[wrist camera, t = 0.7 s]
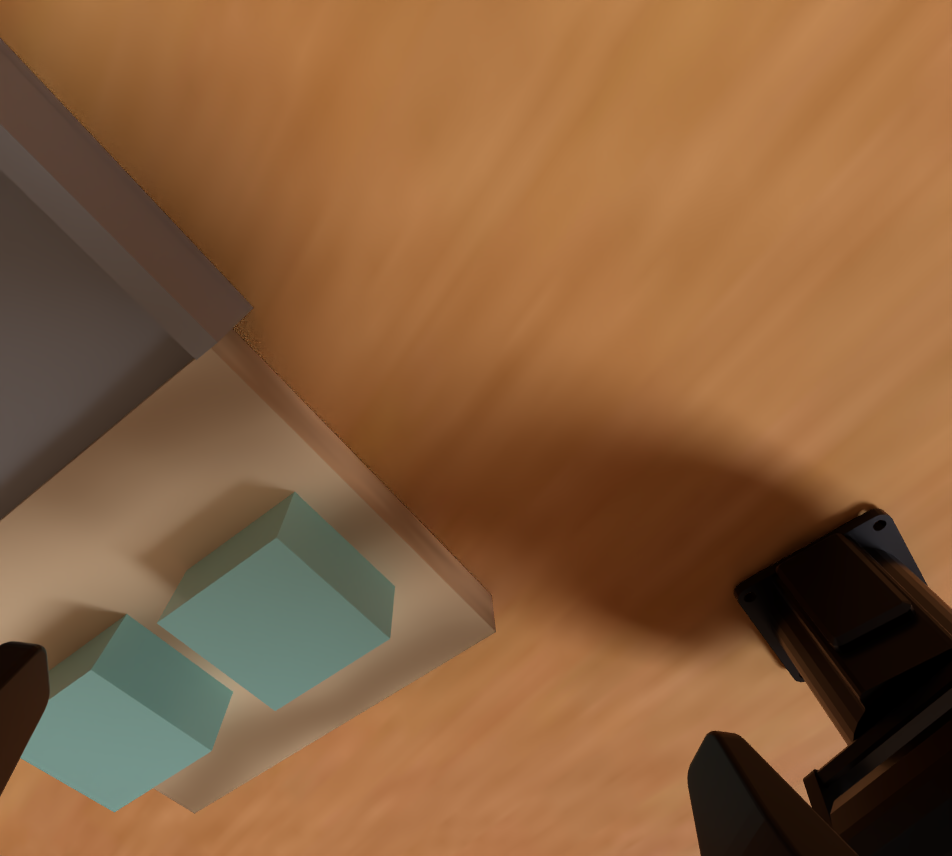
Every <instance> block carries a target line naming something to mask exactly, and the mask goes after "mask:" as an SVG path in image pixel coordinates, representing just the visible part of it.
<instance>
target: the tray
mask: <svg viewBox="0 0 952 856" xmlns="http://www.w3.org/2000/svg"><path fill="white" fill-rule="evenodd" d="M252 309H253V307H252V306H251V305H250V303H249V302H248V301H247V300H246V299H245V298H244V297H243V296H242V295H241V294H240V293H239V292H238V291H237V290H236V289H235V288H234V286H233V285H232V284H231V283H230V282H229V281H228V280H227V279H226V278H225V277H224V276H223V275H222V274H221V273H220V272H219V270H218V269H217V268H216V267H215V266H214V265H213V264H212V263H211V262H210V261H209V260H208V259H207V258H206V257H205V256H204V254H203V253H202V252H201V251H200V250H199V249H198V248H197V247H196V246H195V245H194V244H193V243H192V242H191V241H190V240H189V239H188V237H187V236H186V235H185V234H184V233H183V232H182V231H181V230H180V229H179V228H178V227H177V226H176V225H175V224H174V223H173V221H172V220H171V219H170V218H169V217H168V216H167V215H166V214H165V213H164V212H163V211H162V210H161V209H160V208H159V207H158V206H157V204H156V203H155V202H154V201H153V200H152V199H151V198H150V197H149V196H148V195H147V194H146V193H145V192H144V191H143V190H142V188H141V187H140V186H139V185H138V184H137V183H136V182H135V181H134V180H133V179H132V178H131V177H130V176H129V175H128V174H127V173H126V171H125V170H124V169H123V168H122V167H121V166H120V165H119V164H118V163H117V162H116V161H115V160H114V159H113V158H112V157H111V155H110V154H109V153H108V152H107V151H106V150H105V149H104V148H103V147H102V146H101V145H100V144H99V143H98V142H97V141H96V139H95V138H94V137H93V136H92V135H91V134H90V133H89V132H88V131H87V130H86V129H85V128H84V127H83V126H82V125H81V124H80V122H79V121H78V120H77V119H76V118H75V117H74V116H73V115H72V114H71V113H70V112H69V111H68V110H67V109H66V108H65V106H64V105H63V104H62V103H61V102H60V101H59V100H58V99H57V98H56V97H55V96H54V95H53V94H52V93H51V92H50V91H49V89H48V88H47V87H46V86H45V85H44V84H43V83H42V82H41V81H40V80H39V79H38V78H37V77H36V76H35V75H34V73H33V72H32V71H31V70H30V69H29V68H28V67H27V66H26V65H25V64H24V63H23V62H22V61H21V60H20V59H19V58H18V56H17V55H16V54H15V53H14V52H13V51H12V50H11V49H10V48H9V47H8V46H7V45H6V44H5V43H4V42H3V40H2V39H1V38H0V519H2V518H3V517H4V516H5V515H6V514H8V513H9V512H10V511H11V510H12V509H14V508H15V507H16V506H17V505H18V504H20V503H21V502H22V501H23V500H24V499H26V498H27V497H28V496H29V495H30V494H32V493H33V492H34V491H35V490H36V489H38V488H39V487H40V486H41V485H42V484H44V483H45V482H46V481H47V480H48V479H50V478H51V477H52V476H53V475H54V474H56V473H57V472H58V471H59V470H60V469H62V468H63V467H64V466H65V465H66V464H68V463H69V462H70V461H71V460H72V459H74V458H75V457H76V456H77V455H78V454H80V453H81V452H82V451H83V450H84V449H86V448H87V447H88V446H89V445H90V444H92V443H93V442H94V441H95V440H96V439H98V438H99V437H100V436H101V435H102V434H104V433H105V432H106V431H107V430H108V429H110V428H111V427H112V426H113V425H114V424H116V423H117V422H118V421H119V420H120V419H122V418H123V417H124V416H125V415H126V414H128V413H129V412H130V411H131V410H132V409H134V408H135V407H136V406H137V405H138V404H140V403H141V402H142V401H143V400H144V399H146V398H147V397H148V396H149V395H150V394H152V393H153V392H154V391H155V390H156V389H158V388H159V387H160V386H161V385H162V384H164V383H165V382H166V381H167V380H168V379H170V378H171V377H172V376H173V375H174V374H176V373H177V372H178V371H179V370H180V369H182V368H183V367H184V366H185V365H186V364H188V363H189V362H190V361H191V360H192V359H195V360H197V359H199V358H200V357H201V356H202V355H203V354H205V353H206V352H207V351H208V350H209V349H211V348H212V347H213V346H214V345H215V344H217V343H218V342H219V341H220V340H221V339H222V338H223V337H224V336H225V335H226V334H227V333H228V332H229V331H230V330H231V329H232V328H233V327H234V326H235V325H236V324H237V323H238V322H239V321H240V320H242V319H243V318H244V317H245V316H246V315H247V314H248V313H249V312H250V311H251V310H252Z"/></svg>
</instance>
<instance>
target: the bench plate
mask: <svg viewBox="0 0 952 856" xmlns="http://www.w3.org/2000/svg"><path fill="white" fill-rule="evenodd" d="M294 492H296V493H297V494H298V495H299V496H300V497H301V498H302V499H303V500H304V501H305V502H306V503H307V504H308V505H309V506H311V507H312V508H313V509H314V510H315V511H316V512H317V513H318V514H319V515H320V516H321V517H322V518H323V519H324V520H325V521H326V522H327V523H329V524H330V525H331V526H332V527H333V528H334V529H335V530H336V531H337V532H338V533H339V534H340V535H341V536H342V537H343V538H344V539H345V540H347V541H348V542H349V543H350V544H351V545H352V546H353V547H354V548H355V549H356V550H357V551H358V552H359V553H360V554H361V555H362V556H363V557H365V558H366V559H367V560H368V561H369V562H370V563H371V564H372V565H373V566H374V567H375V568H376V569H377V570H378V571H379V572H380V573H381V574H383V575H384V576H385V577H386V578H387V579H388V580H389V581H390V582H391V583H392V584H393V585H394V586H395V593H394V604H393V615H392V626H391V636H390V639H389V640H388V641H386V642H384V643H383V644H381V645H380V646H378V647H376V648H375V649H373V650H372V651H370V652H368V653H367V654H365V655H364V656H362V657H361V658H359V659H357V660H356V661H354V662H353V663H351V664H349V665H348V666H346V667H345V668H343V669H341V670H340V671H338V672H337V673H335V674H333V675H332V676H330V677H329V678H327V679H326V680H324V681H322V682H321V683H319V684H318V685H316V686H314V687H313V688H311V689H310V690H308V691H306V692H305V693H303V694H302V695H300V696H299V697H297V698H295V699H294V700H292V701H291V702H289V703H287V704H286V705H284V706H283V707H281V708H279V709H278V710H276V711H274V710H273V709H271V708H270V707H269V706H267V705H266V704H265V703H263V702H262V701H261V700H259V699H258V698H257V697H255V696H254V695H253V694H251V693H250V692H249V691H247V690H246V689H245V688H243V687H242V686H241V685H239V684H238V683H236V682H235V681H234V680H232V679H231V678H230V677H228V676H227V675H226V674H224V673H223V672H222V671H220V670H219V669H218V668H216V667H215V666H214V665H212V664H211V663H210V662H208V661H207V660H206V659H204V658H203V657H201V656H200V655H199V654H197V653H196V652H195V651H193V650H192V649H191V648H189V647H188V646H187V645H185V644H184V643H183V642H181V641H180V640H179V639H177V638H176V637H175V636H173V635H172V634H171V633H169V632H168V631H167V630H165V629H164V628H162V627H161V626H160V625H158V624H157V622H158V620H159V618H160V616H161V615H162V613H163V611H164V609H165V607H166V606H167V604H168V602H169V600H170V599H171V597H172V595H173V593H174V592H175V590H176V588H177V586H178V585H179V583H180V581H181V579H182V578H183V576H184V574H185V572H186V571H187V570H188V569H189V568H191V567H192V566H193V565H195V564H196V563H198V562H199V561H200V560H202V559H203V558H204V557H206V556H207V555H208V554H210V553H211V552H213V551H214V550H215V549H217V548H218V547H219V546H221V545H222V544H224V543H225V542H226V541H228V540H229V539H230V538H232V537H233V536H235V535H236V534H237V533H239V532H240V531H241V530H243V529H244V528H246V527H247V526H248V525H250V524H251V523H252V522H254V521H255V520H257V519H258V518H259V517H261V516H262V515H263V514H265V513H266V512H268V511H269V510H270V509H272V508H273V507H274V506H276V505H277V504H278V503H280V502H281V501H283V500H284V499H285V498H287V497H288V496H289V495H291V494H292V493H294ZM126 614H128V615H129V616H130V617H132V618H133V619H135V620H136V621H137V622H139V623H140V624H141V625H143V626H144V627H145V628H147V629H148V630H150V631H151V632H152V633H154V634H155V635H156V636H158V637H159V638H160V639H162V640H163V641H165V642H166V643H167V644H169V645H170V646H171V647H173V648H174V649H175V650H177V651H178V652H180V653H181V654H182V655H184V656H185V657H186V658H188V659H189V660H190V661H192V662H193V663H195V664H196V665H197V666H199V667H200V668H201V669H203V670H204V671H205V672H207V673H208V674H210V675H211V676H212V677H214V678H215V679H216V680H218V681H219V682H220V683H222V684H223V685H225V686H226V687H227V688H229V689H230V690H231V691H233V694H232V697H231V699H230V702H229V705H228V708H227V710H226V713H225V716H224V719H223V721H222V724H221V727H220V730H219V732H218V735H217V738H216V741H215V743H214V746H213V749H212V751H211V752H209V753H208V754H206V755H205V756H203V757H201V758H200V759H198V760H197V761H195V762H194V763H192V764H190V765H189V766H187V767H186V768H184V769H182V770H181V771H179V772H178V773H176V774H174V775H173V776H171V777H170V778H168V779H167V780H165V781H163V782H162V783H160V784H159V785H157V786H155V787H154V789H155V790H157V791H159V792H160V793H162V794H164V795H165V796H167V797H168V798H170V799H172V800H173V801H175V802H177V803H178V804H180V805H182V806H183V807H185V808H186V809H188V810H190V811H191V812H193V813H196V812H198V811H200V810H201V809H203V808H204V807H206V806H208V805H209V804H211V803H213V802H214V801H216V800H218V799H219V798H221V797H223V796H224V795H226V794H228V793H229V792H231V791H233V790H234V789H236V788H238V787H239V786H241V785H243V784H244V783H246V782H248V781H249V780H251V779H253V778H254V777H256V776H258V775H259V774H261V773H263V772H264V771H266V770H268V769H269V768H271V767H273V766H274V765H276V764H277V763H279V762H281V761H282V760H284V759H286V758H287V757H289V756H291V755H292V754H294V753H296V752H297V751H299V750H301V749H302V748H304V747H306V746H307V745H309V744H311V743H312V742H314V741H316V740H317V739H319V738H321V737H322V736H324V735H326V734H327V733H329V732H331V731H332V730H334V729H336V728H337V727H339V726H341V725H342V724H344V723H346V722H347V721H349V720H351V719H352V718H354V717H355V716H357V715H359V714H360V713H362V712H364V711H365V710H367V709H369V708H370V707H372V706H374V705H375V704H377V703H379V702H380V701H382V700H384V699H385V698H387V697H389V696H390V695H392V694H394V693H395V692H397V691H399V690H400V689H402V688H404V687H405V686H407V685H409V684H410V683H412V682H414V681H415V680H417V679H419V678H420V677H422V676H424V675H425V674H427V673H428V672H430V671H432V670H433V669H435V668H437V667H438V666H440V665H442V664H443V663H445V662H447V661H448V660H450V659H452V658H453V657H455V656H457V655H458V654H460V653H462V652H463V651H465V650H467V649H468V648H470V647H472V646H473V645H475V644H477V643H478V642H480V641H482V640H483V639H485V638H487V637H488V636H490V635H492V634H493V633H495V632H496V629H495V620H494V611H493V603H492V595H491V594H490V593H489V592H488V591H487V590H486V589H485V588H484V587H483V586H482V585H481V584H480V583H479V582H478V581H477V580H476V579H475V578H474V577H473V576H472V575H471V574H470V573H469V572H468V571H467V570H466V569H465V568H464V567H463V565H462V564H461V563H460V562H459V561H458V560H457V559H456V558H455V557H454V556H453V555H452V554H451V553H450V552H449V551H448V550H447V549H446V548H445V547H444V546H443V545H442V544H441V543H440V542H439V541H438V540H437V539H436V538H435V537H434V536H433V535H432V534H431V533H430V532H429V530H428V529H427V528H426V527H425V526H424V525H423V524H422V523H421V522H420V521H419V520H418V519H417V518H416V517H415V516H414V515H413V514H412V513H411V512H410V511H409V510H408V509H407V508H406V507H405V506H404V505H403V504H402V503H401V502H400V501H399V500H398V499H397V498H396V497H395V495H394V494H393V493H392V492H391V491H390V490H389V489H388V488H387V487H386V486H385V485H384V484H383V483H382V482H381V481H380V480H379V479H378V478H377V477H376V476H375V475H374V474H373V473H372V472H371V471H370V470H369V469H368V468H367V467H366V466H365V465H364V464H363V463H362V461H361V460H360V459H359V458H358V457H357V456H356V455H355V454H354V453H353V452H352V451H351V450H350V449H349V448H348V447H347V446H346V445H345V444H344V443H343V442H342V441H341V440H340V439H339V438H338V437H337V436H336V435H335V434H334V433H333V432H332V431H331V430H330V429H329V428H328V426H327V425H326V424H325V423H324V422H323V421H322V420H321V419H320V418H319V417H318V416H317V415H316V414H315V413H314V412H313V411H312V410H311V409H310V408H309V407H308V406H307V405H306V404H305V403H304V402H303V401H302V400H301V399H300V398H299V397H298V396H297V395H296V394H295V393H294V391H293V390H292V389H291V388H290V387H289V386H288V385H287V384H286V383H285V382H284V381H283V380H282V379H281V378H280V377H279V376H278V375H277V374H276V373H275V372H274V371H273V370H272V369H271V368H270V367H269V366H268V365H267V364H266V363H265V362H264V361H263V360H262V359H261V358H260V356H259V355H258V354H257V353H256V352H255V351H254V350H253V349H252V348H251V347H250V346H249V345H248V344H247V343H246V342H245V341H244V340H243V339H242V338H241V337H240V336H239V335H238V334H237V333H236V332H235V331H234V330H233V329H231V330H230V331H229V332H228V333H227V334H226V335H225V336H224V337H223V338H222V339H221V340H220V341H219V342H218V343H217V344H215V345H214V346H213V347H212V348H211V349H209V350H208V351H207V352H206V353H205V354H203V355H202V356H201V357H200V358H199V359H197V360H195V359H192V360H191V361H190V362H189V363H188V364H186V365H185V366H184V367H183V368H182V369H180V370H179V371H178V372H177V373H176V374H174V375H173V376H172V377H171V378H170V379H168V380H167V381H166V382H165V383H164V384H162V385H161V386H160V387H159V388H158V389H156V390H155V391H154V392H153V393H152V394H150V395H149V396H148V397H147V398H146V399H144V400H143V401H142V402H141V403H140V404H138V405H137V406H136V407H135V408H134V409H132V410H131V411H130V412H129V413H128V414H126V415H125V416H124V417H123V418H122V419H120V420H119V421H118V422H117V423H116V424H114V425H113V426H112V427H111V428H110V429H108V430H107V431H106V432H105V433H104V434H102V435H101V436H100V437H99V438H98V439H96V440H95V441H94V442H93V443H92V444H90V445H89V446H88V447H87V448H86V449H84V450H83V451H82V452H81V453H80V454H78V455H77V456H76V457H75V458H74V459H72V460H71V461H70V462H69V463H68V464H66V465H65V466H64V467H63V468H62V469H60V470H59V471H58V472H57V473H56V474H54V475H53V476H52V477H51V478H50V479H48V480H47V481H46V482H45V483H44V484H42V485H41V486H40V487H39V488H38V489H36V490H35V491H34V492H33V493H32V494H30V495H29V496H28V497H27V498H26V499H24V500H23V501H22V502H21V503H20V504H18V505H17V506H16V507H15V508H14V509H12V510H11V511H10V512H9V513H8V514H6V515H5V516H4V517H3V518H2V519H0V645H1V644H3V643H6V642H10V641H18V642H25V643H33V644H40V645H42V646H43V647H44V648H45V649H46V652H47V659H48V670H51V669H52V668H53V667H55V666H56V665H58V664H59V663H60V662H62V661H63V660H64V659H66V658H67V657H69V656H70V655H71V654H73V653H74V652H75V651H77V650H78V649H79V648H81V647H82V646H84V645H85V644H86V643H88V642H89V641H90V640H92V639H93V638H95V637H96V636H97V635H99V634H100V633H101V632H103V631H104V630H106V629H107V628H108V627H110V626H111V625H112V624H114V623H115V622H117V621H118V620H119V619H121V618H122V617H123V616H125V615H126Z"/></svg>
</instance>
